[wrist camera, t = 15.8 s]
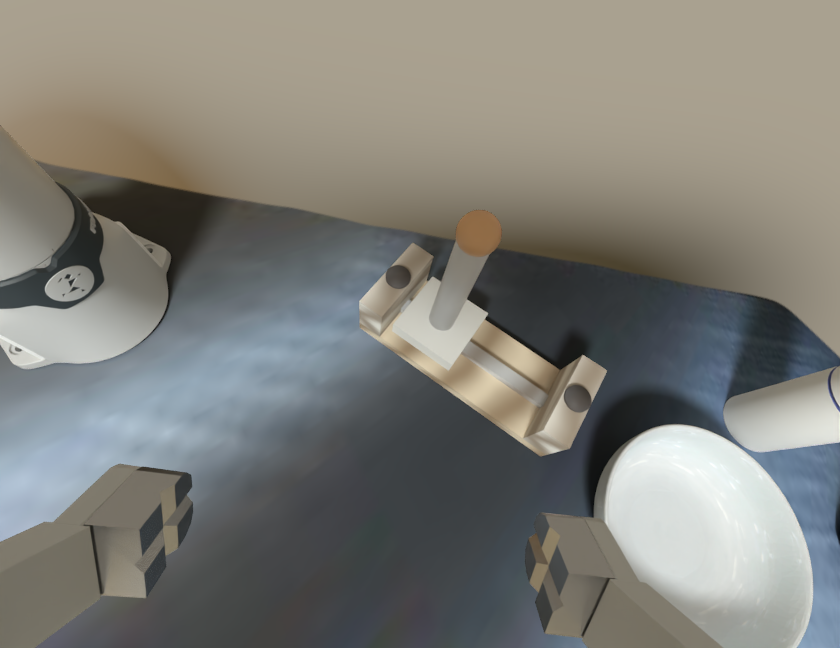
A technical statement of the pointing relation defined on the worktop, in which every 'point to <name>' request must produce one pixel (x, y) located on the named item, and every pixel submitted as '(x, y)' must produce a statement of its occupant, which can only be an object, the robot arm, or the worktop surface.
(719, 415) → the worktop surface
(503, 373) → the rail
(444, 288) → the carriage
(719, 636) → the serving bowl
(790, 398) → the cylindrical container
